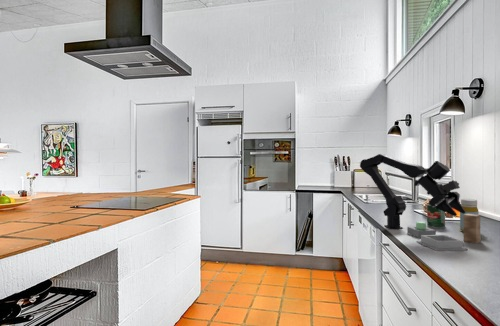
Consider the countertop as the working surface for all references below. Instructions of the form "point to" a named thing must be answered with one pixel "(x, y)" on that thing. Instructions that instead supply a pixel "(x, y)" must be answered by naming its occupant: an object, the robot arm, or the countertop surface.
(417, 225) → the button
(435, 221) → the canned tomato
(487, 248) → the countertop surface
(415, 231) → the switch box
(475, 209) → the bottle
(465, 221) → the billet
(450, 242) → the grey square socket
